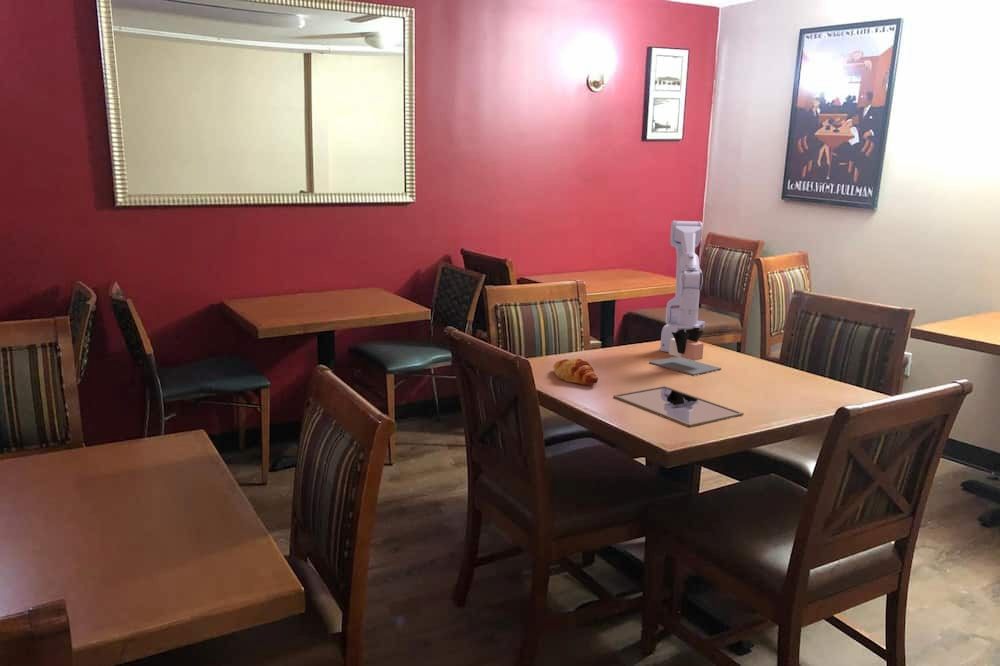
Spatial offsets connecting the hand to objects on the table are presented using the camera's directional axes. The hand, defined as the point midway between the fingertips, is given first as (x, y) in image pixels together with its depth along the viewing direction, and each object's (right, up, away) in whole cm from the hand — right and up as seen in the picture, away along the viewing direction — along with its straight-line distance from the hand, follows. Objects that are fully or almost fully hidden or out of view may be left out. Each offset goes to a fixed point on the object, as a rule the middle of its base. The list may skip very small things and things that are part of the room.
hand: (685, 352), depth 244 cm
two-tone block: (0, -1, 0) cm, 1 cm away
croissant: (-36, -8, -16) cm, 40 cm away
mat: (0, -5, +1) cm, 5 cm away
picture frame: (-12, -14, -40) cm, 44 cm away
